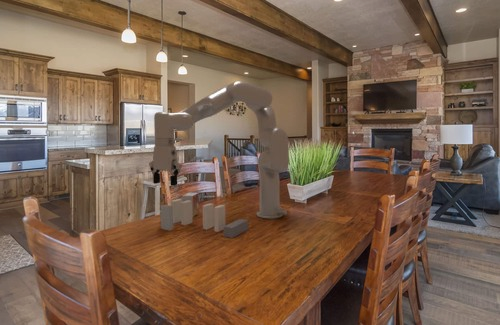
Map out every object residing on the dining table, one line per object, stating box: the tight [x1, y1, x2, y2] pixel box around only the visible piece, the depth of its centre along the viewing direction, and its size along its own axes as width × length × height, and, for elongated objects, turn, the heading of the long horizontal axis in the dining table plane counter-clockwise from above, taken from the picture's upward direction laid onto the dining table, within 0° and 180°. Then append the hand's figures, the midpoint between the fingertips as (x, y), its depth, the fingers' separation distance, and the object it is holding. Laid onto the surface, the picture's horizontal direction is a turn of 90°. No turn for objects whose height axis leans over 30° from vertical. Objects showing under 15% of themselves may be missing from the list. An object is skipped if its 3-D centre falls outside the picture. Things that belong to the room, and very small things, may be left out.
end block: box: [223, 218, 249, 239], centre depth 124 cm, size 4×12×4 cm, turn 150°
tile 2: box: [180, 200, 193, 226], centre depth 137 cm, size 2×5×10 cm, turn 150°
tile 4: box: [202, 202, 215, 231], centre depth 131 cm, size 2×5×10 cm, turn 150°
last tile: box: [213, 204, 226, 233], centre depth 128 cm, size 2×5×10 cm, turn 150°
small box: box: [181, 192, 200, 218], centre depth 151 cm, size 8×6×10 cm
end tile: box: [170, 198, 182, 225], centre depth 140 cm, size 2×5×10 cm, turn 150°
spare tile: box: [160, 204, 174, 231], centre depth 130 cm, size 2×5×10 cm, turn 60°
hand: (165, 184), depth 128 cm, fingers open, 9 cm apart
